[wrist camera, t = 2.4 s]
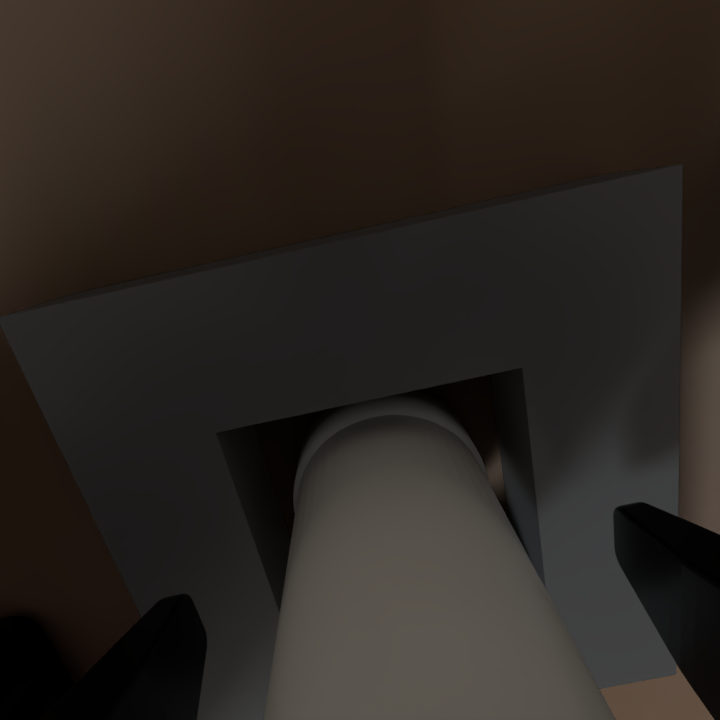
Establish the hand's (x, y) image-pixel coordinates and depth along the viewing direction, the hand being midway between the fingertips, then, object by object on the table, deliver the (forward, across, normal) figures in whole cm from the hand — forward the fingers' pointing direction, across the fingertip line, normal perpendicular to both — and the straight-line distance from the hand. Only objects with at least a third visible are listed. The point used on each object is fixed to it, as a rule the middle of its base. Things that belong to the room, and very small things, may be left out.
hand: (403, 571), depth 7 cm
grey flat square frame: (+3, 0, 0) cm, 3 cm away
